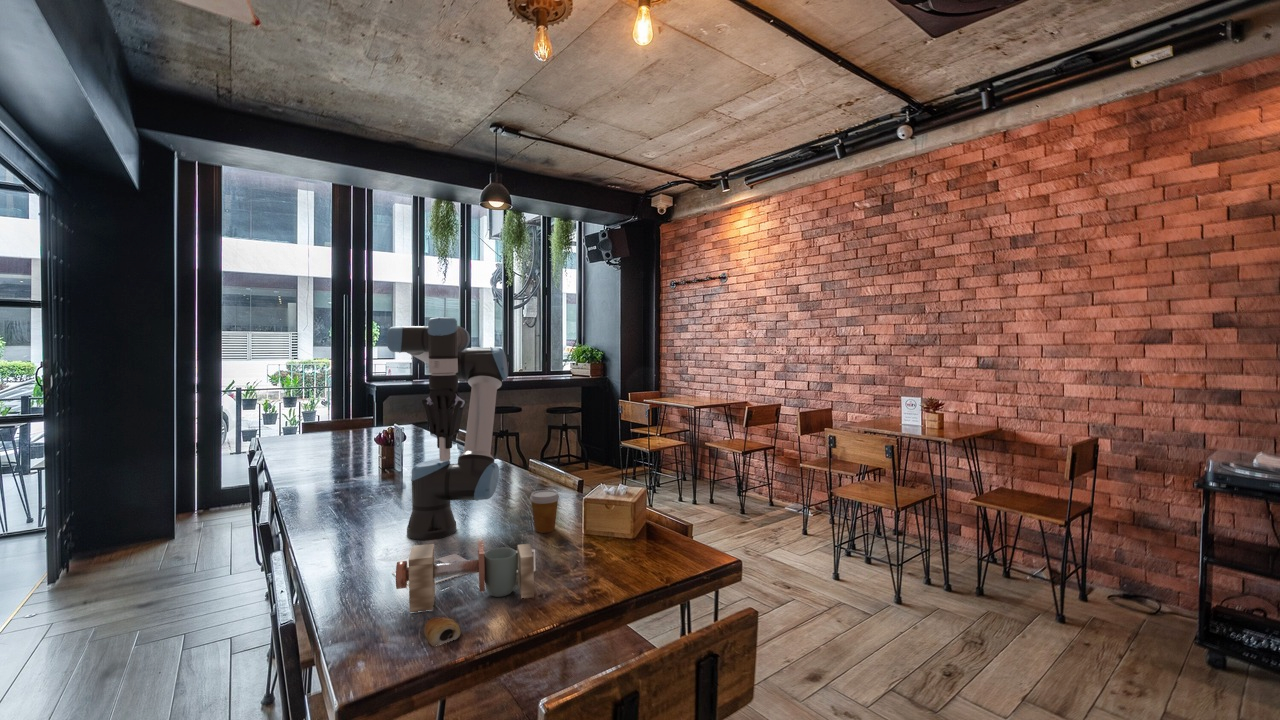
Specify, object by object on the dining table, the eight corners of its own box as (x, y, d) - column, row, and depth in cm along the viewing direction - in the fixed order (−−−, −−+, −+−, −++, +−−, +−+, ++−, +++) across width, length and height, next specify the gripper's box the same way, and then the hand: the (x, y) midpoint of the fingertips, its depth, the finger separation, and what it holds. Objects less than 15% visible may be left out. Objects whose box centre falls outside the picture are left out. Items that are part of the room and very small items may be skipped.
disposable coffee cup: (562, 525, 191) (562, 490, 190) (555, 535, 181) (555, 497, 181) (534, 524, 192) (534, 489, 191) (526, 534, 182) (526, 497, 182)
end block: (521, 598, 136) (520, 557, 136) (518, 583, 145) (517, 544, 145) (534, 597, 137) (533, 556, 137) (529, 582, 146) (529, 543, 146)
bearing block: (409, 614, 129) (408, 559, 129) (413, 596, 138) (412, 545, 137) (432, 610, 130) (432, 557, 130) (434, 593, 139) (434, 543, 139)
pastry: (417, 631, 122) (417, 614, 122) (448, 622, 126) (448, 605, 126) (432, 650, 114) (431, 631, 114) (464, 639, 118) (464, 621, 118)
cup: (488, 603, 134) (487, 561, 134) (481, 590, 141) (480, 550, 141) (520, 596, 138) (520, 555, 137) (512, 584, 145) (512, 545, 144)
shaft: (395, 602, 128) (394, 563, 128) (399, 586, 137) (398, 549, 136) (484, 591, 134) (484, 553, 134) (483, 576, 142) (483, 540, 142)
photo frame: (480, 567, 154) (415, 588, 141) (481, 571, 154) (415, 592, 141) (455, 552, 164) (392, 571, 152) (455, 556, 164) (392, 575, 152)
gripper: (414, 374, 153) (415, 461, 154) (455, 375, 149) (456, 464, 150) (432, 373, 160) (433, 456, 161) (472, 373, 156) (473, 458, 157)
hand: (445, 460), depth 156 cm, fingers closed
